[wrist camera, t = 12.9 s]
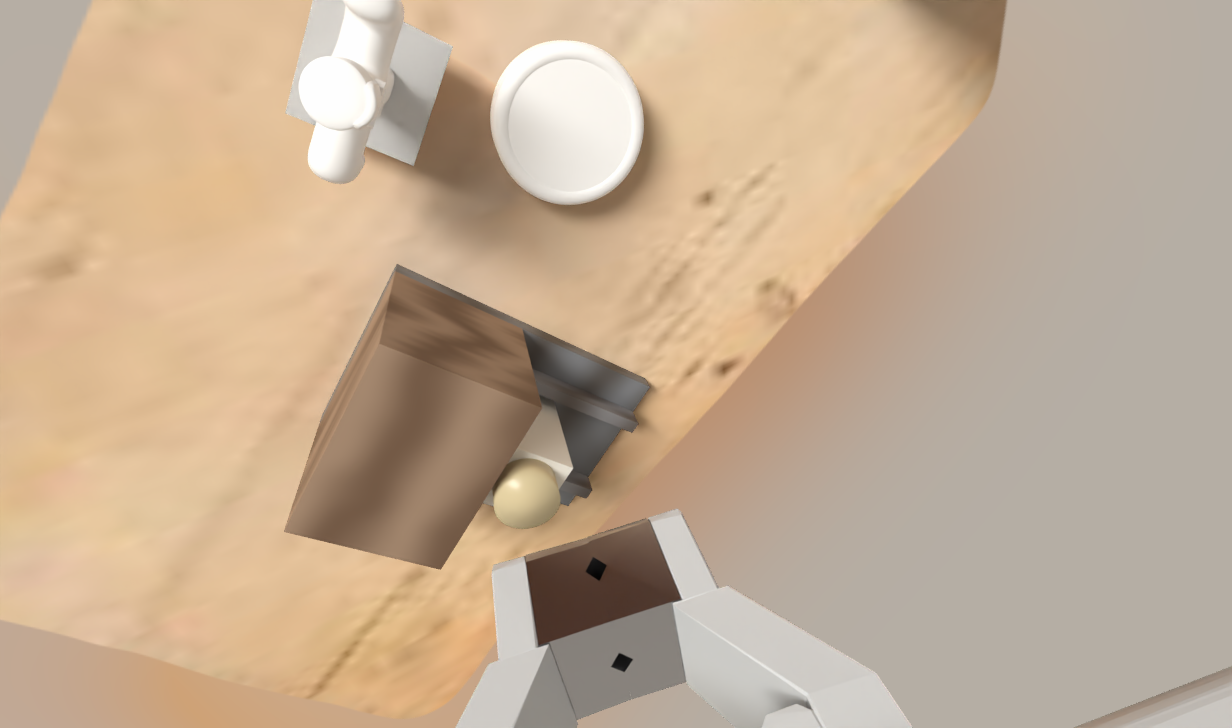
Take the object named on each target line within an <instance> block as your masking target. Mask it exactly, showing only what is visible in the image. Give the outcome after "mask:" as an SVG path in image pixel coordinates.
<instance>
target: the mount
mask: <svg viewBox="0 0 1232 728" xmlns="http://www.w3.org/2000/svg"><path fill="white" fill-rule="evenodd" d="M649 388H650V386H649V384H648V383H647V381H646V379H645V378H643V377H641V376H638V375H636V374H634V373H632V372H630V371H628V370H625V369H623V368H621V367H619V366H617V365H615V364H612V363H610V362H608V361H606V360H604V359H602V358H599V357H597V356H595V355H593V354H591V353H589V352H586V351H584V350H582V349H580V348H578V347H576V346H573V345H571V344H569V343H567V342H565V341H563V340H560V339H558V338H556V337H554V336H552V335H550V334H547V333H545V332H543V331H541V330H539V329H537V328H534V327H532V326H530V325H528V324H526V323H524V322H521V321H519V320H517V319H515V318H513V317H510V316H508V315H506V314H504V313H502V312H500V311H497V310H495V309H493V308H491V307H489V306H487V305H484V304H482V303H480V302H478V301H476V300H474V299H471V298H469V297H467V296H465V295H463V294H461V293H458V292H456V291H454V290H452V289H450V288H448V287H445V286H443V285H441V284H439V283H437V282H435V281H432V280H430V279H428V278H426V277H424V276H422V275H419V274H417V273H415V272H413V271H411V270H409V269H406V268H404V267H402V266H400V265H398V264H397V265H396V267H395V269H394V271H393V273H392V275H391V277H390V279H389V281H388V283H387V285H386V287H385V289H384V291H383V293H382V295H381V297H380V299H379V301H378V303H377V305H376V307H375V309H374V311H373V314H372V316H371V318H370V320H369V322H368V324H367V326H366V328H365V330H364V332H363V334H362V336H361V338H360V340H359V342H358V344H357V346H356V348H355V350H354V352H353V354H352V356H351V358H350V360H349V362H348V364H347V366H346V368H345V370H344V372H343V374H342V376H341V378H340V380H339V382H338V384H337V386H336V388H335V390H334V392H333V395H332V397H331V399H330V401H329V403H328V405H327V407H326V409H325V411H324V413H323V415H322V418H321V421H320V424H319V427H318V430H317V433H316V436H315V439H314V442H313V445H312V448H311V451H310V454H309V457H308V460H307V463H306V466H305V469H304V472H303V475H302V478H301V481H300V484H299V487H298V490H297V493H296V496H295V500H294V503H293V506H292V509H291V512H290V515H289V518H288V521H287V524H286V527H285V530H284V532H287V533H291V534H295V535H299V536H304V537H308V538H312V539H316V540H320V541H324V542H328V543H333V544H337V545H341V546H345V547H349V548H353V549H357V550H362V551H366V552H370V553H374V554H378V555H382V556H386V557H390V558H395V559H399V560H403V561H407V562H411V563H415V564H419V565H424V566H428V567H432V568H436V569H440V570H441V568H442V567H443V565H444V564H445V562H446V560H447V559H448V557H449V556H450V554H451V552H452V551H453V549H454V548H455V546H456V545H457V543H458V541H459V540H460V538H461V537H462V535H463V533H464V532H465V530H466V529H467V527H468V525H469V524H470V522H471V521H472V519H473V518H474V516H475V514H476V513H477V511H478V510H479V508H480V506H481V505H482V503H483V502H484V500H485V498H486V497H487V495H488V494H489V492H490V491H491V489H492V487H493V486H494V484H495V483H496V481H497V479H498V478H499V476H500V475H501V473H502V471H503V470H504V468H505V467H506V465H507V464H508V462H509V460H510V459H511V457H512V456H513V454H514V452H515V451H516V449H517V448H518V446H519V444H520V443H521V441H522V440H523V438H524V437H525V435H526V433H527V432H528V430H529V429H530V427H531V425H532V424H533V422H534V421H535V419H536V417H537V416H538V414H539V413H540V411H541V410H542V405H541V401H540V397H539V395H540V396H543V397H545V398H548V399H550V400H553V401H554V403H555V406H556V410H557V413H558V417H559V420H560V424H561V427H562V431H563V434H564V438H565V441H566V445H567V448H568V452H569V455H570V458H571V462H572V465H573V469H572V471H571V472H570V474H569V475H568V477H567V478H566V480H565V481H564V483H563V484H562V486H561V487H560V489H559V493H560V499H561V500H560V503H561V504H564V505H567V506H569V504H570V503H571V501H572V500H573V498H574V497H575V495H577V496H580V497H583V498H587V497H588V496H589V494H590V493H591V491H592V488H591V485H590V482H589V478H588V477H589V475H590V474H591V472H592V471H593V469H594V468H595V466H596V465H597V463H598V462H599V461H600V459H601V458H602V456H603V455H604V453H605V452H606V450H607V449H608V447H609V446H610V445H611V443H612V442H613V440H614V439H615V437H616V436H617V434H618V433H619V431H620V430H621V429H624V430H626V431H629V432H631V433H632V432H633V431H634V429H635V428H636V427H637V425H638V422H637V420H636V418H635V416H634V414H633V411H634V410H635V408H636V407H637V405H638V404H639V402H640V401H641V399H642V398H643V397H644V395H645V394H646V392H647V391H648V389H649Z"/></svg>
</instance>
